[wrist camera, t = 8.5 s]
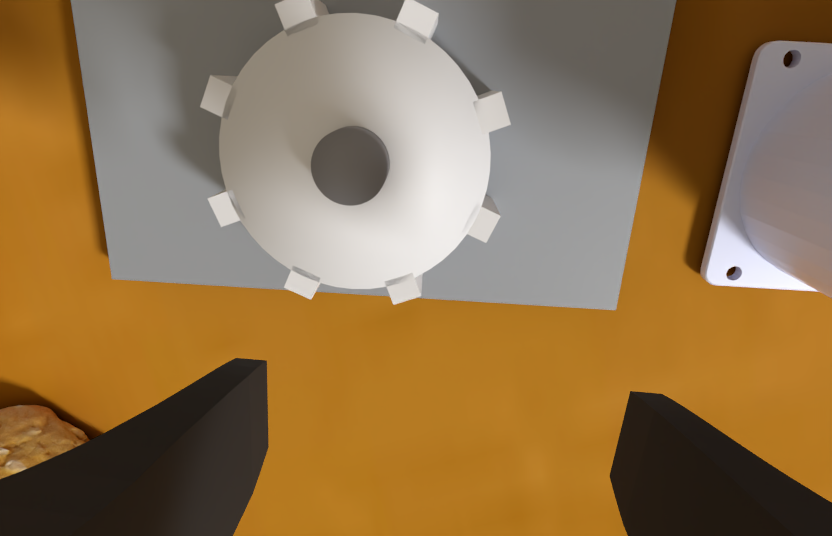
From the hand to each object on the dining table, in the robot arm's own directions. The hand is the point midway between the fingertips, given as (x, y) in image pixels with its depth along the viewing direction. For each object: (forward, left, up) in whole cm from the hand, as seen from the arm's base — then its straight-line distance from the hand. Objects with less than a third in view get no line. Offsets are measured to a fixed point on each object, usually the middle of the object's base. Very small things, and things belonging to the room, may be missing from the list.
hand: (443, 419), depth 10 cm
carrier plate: (+3, -9, -9) cm, 13 cm away
